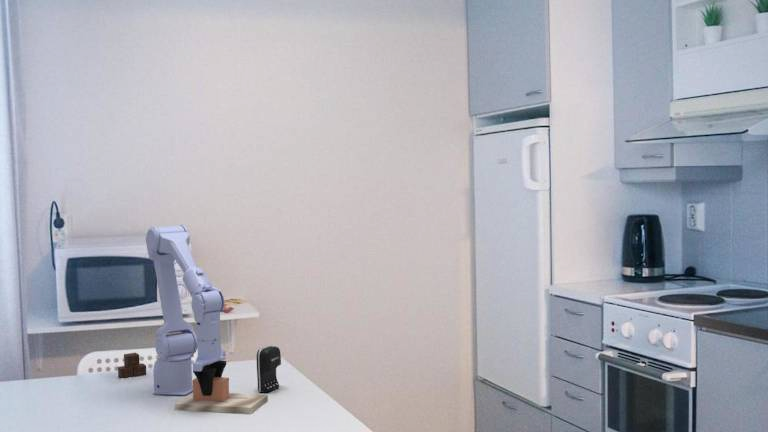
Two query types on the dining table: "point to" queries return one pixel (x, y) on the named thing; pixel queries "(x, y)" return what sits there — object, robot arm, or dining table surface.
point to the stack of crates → (131, 366)
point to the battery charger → (268, 368)
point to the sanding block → (218, 390)
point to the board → (224, 404)
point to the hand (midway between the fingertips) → (210, 392)
